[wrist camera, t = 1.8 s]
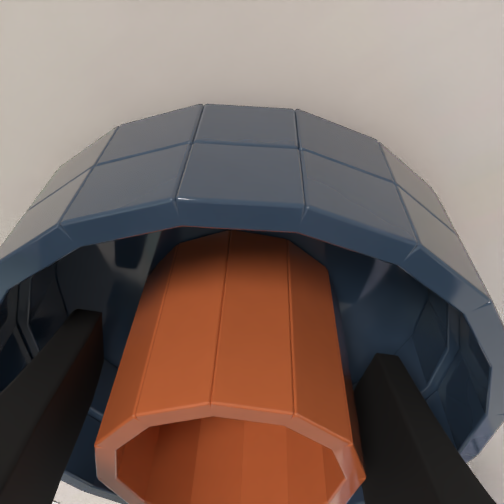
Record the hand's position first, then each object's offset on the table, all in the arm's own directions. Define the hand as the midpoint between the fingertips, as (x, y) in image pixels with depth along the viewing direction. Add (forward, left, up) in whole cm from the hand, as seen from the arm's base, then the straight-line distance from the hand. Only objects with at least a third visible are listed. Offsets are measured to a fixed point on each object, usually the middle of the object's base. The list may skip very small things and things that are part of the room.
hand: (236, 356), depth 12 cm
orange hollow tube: (0, 0, -2) cm, 2 cm away
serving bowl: (0, 0, -2) cm, 2 cm away
